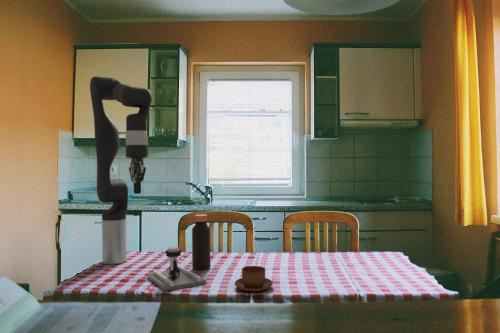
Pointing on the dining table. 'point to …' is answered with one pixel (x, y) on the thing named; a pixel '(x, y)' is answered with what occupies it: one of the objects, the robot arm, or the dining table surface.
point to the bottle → (201, 243)
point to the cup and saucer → (253, 279)
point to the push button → (173, 262)
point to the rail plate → (176, 279)
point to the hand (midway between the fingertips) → (137, 193)
